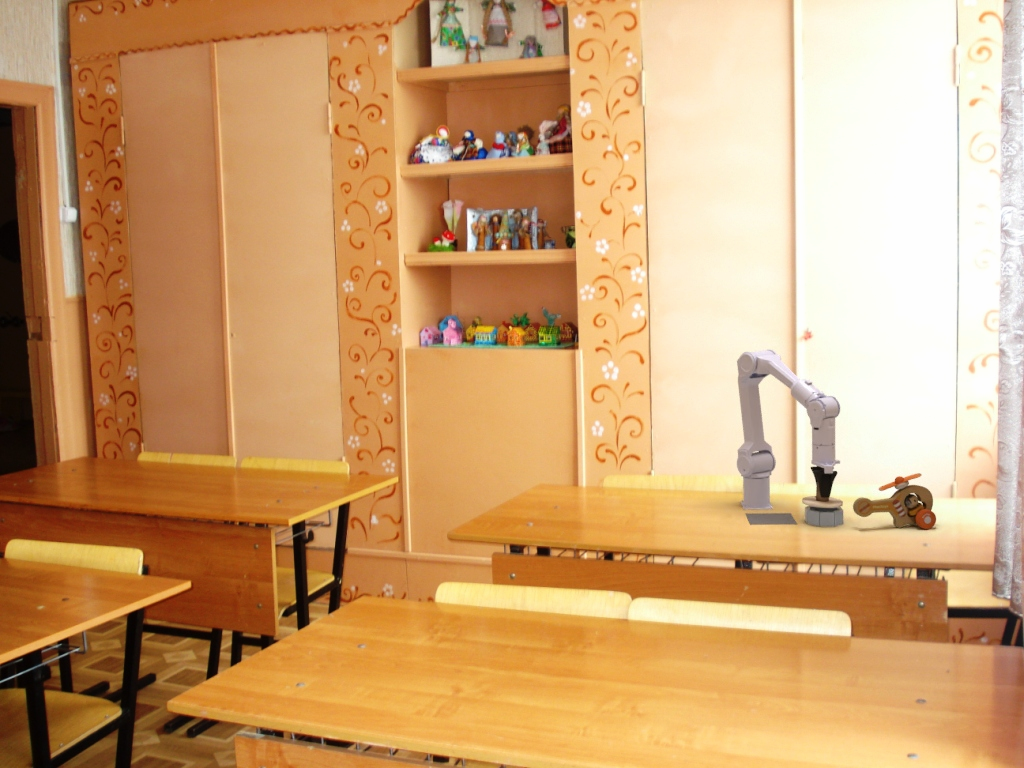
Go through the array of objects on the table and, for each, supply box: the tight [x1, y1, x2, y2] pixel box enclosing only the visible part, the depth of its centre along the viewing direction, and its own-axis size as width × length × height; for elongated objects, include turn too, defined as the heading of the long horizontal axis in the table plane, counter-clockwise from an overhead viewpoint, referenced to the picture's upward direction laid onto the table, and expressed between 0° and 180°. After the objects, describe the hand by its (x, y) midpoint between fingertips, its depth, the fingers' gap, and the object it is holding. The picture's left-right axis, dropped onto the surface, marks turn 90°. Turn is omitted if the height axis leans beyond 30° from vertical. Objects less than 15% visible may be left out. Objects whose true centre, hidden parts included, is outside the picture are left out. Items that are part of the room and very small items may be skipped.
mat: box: [745, 512, 798, 526], centre depth 263 cm, size 12×12×1 cm
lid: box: [801, 482, 844, 508], centre depth 256 cm, size 10×10×5 cm
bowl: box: [804, 505, 844, 528], centre depth 257 cm, size 9×9×4 cm
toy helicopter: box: [852, 473, 937, 530], centre depth 250 cm, size 8×21×14 cm, turn 98°
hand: (823, 495), depth 256 cm, fingers closed on lid, 3 cm apart
